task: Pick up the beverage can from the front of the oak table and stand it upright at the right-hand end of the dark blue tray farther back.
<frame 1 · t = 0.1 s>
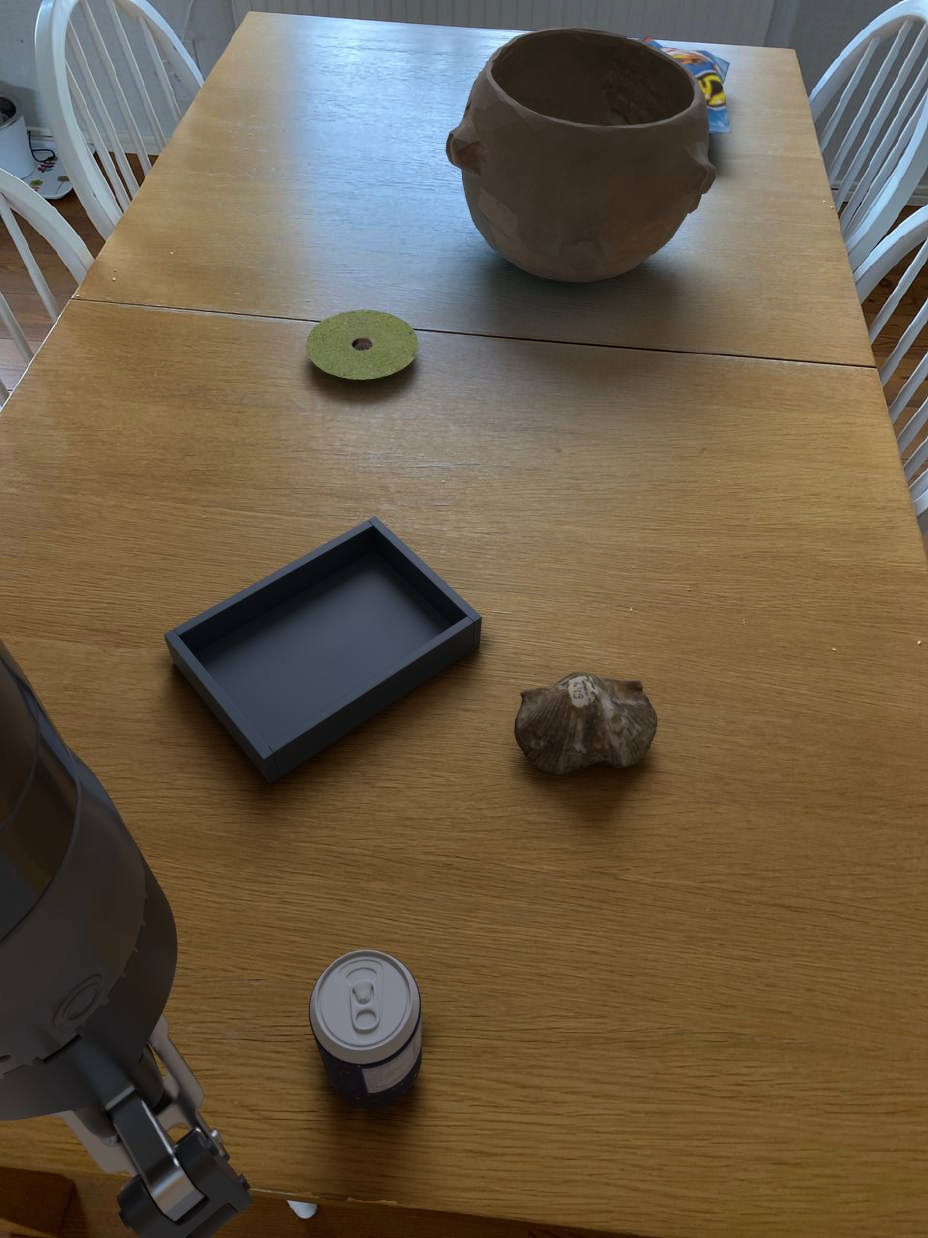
hand: (141, 1073, 36), 22 cm above the table, tool pointing down, fingers open, 8 cm apart
dark blue tray: (328, 653, 75), on the table
beverage can: (374, 1059, 57), on the table
fossilized seashell: (580, 740, 71), on the table
bowl: (568, 255, 111), on the table
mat: (363, 360, 98), on the table
packet: (661, 122, 131), on the table
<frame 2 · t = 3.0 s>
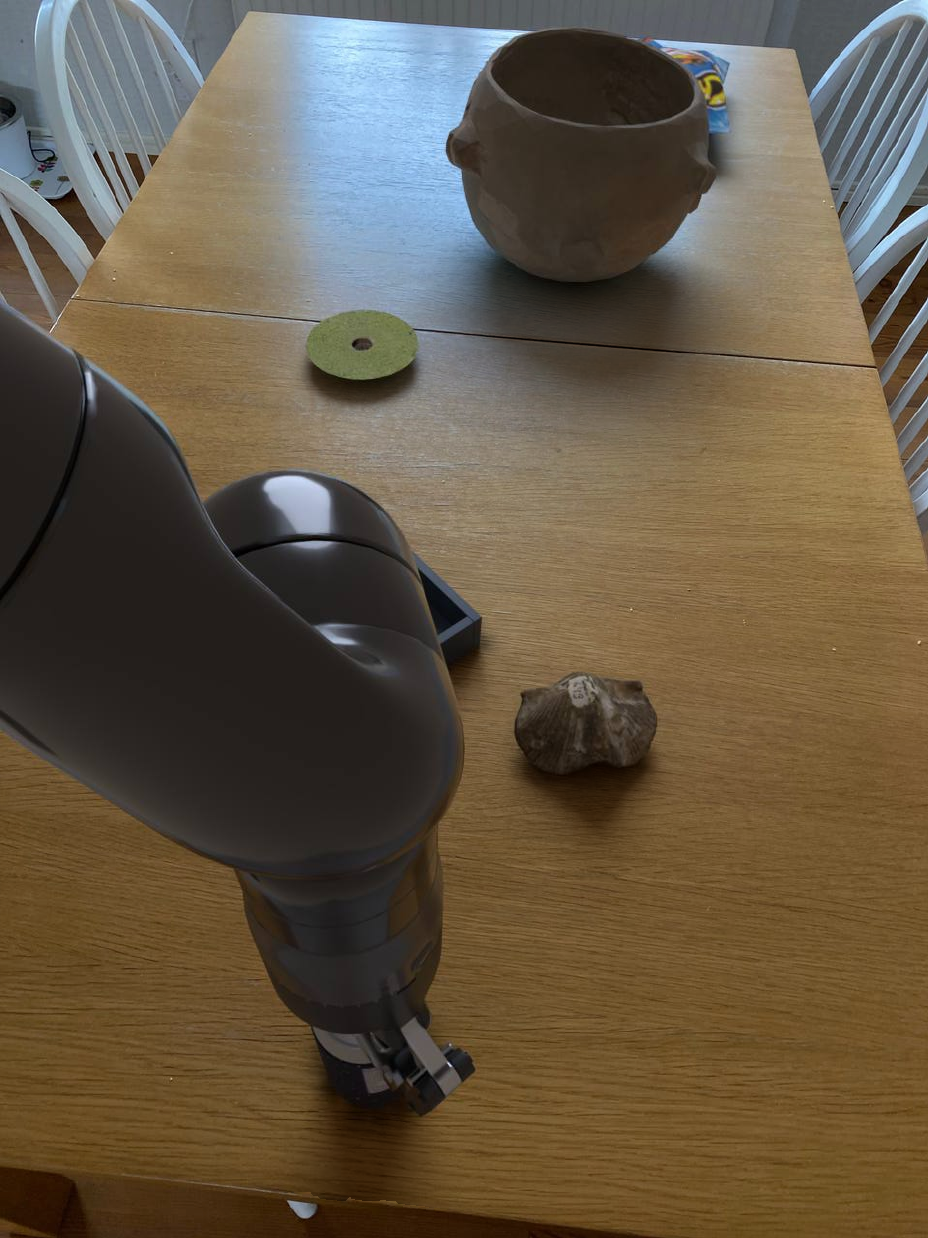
hand: (368, 1024, 51), 8 cm above the table, tool pointing down, fingers closed on beverage can, 5 cm apart
beverage can: (374, 1060, 57), on the table, touching gripper
everything else where it was.
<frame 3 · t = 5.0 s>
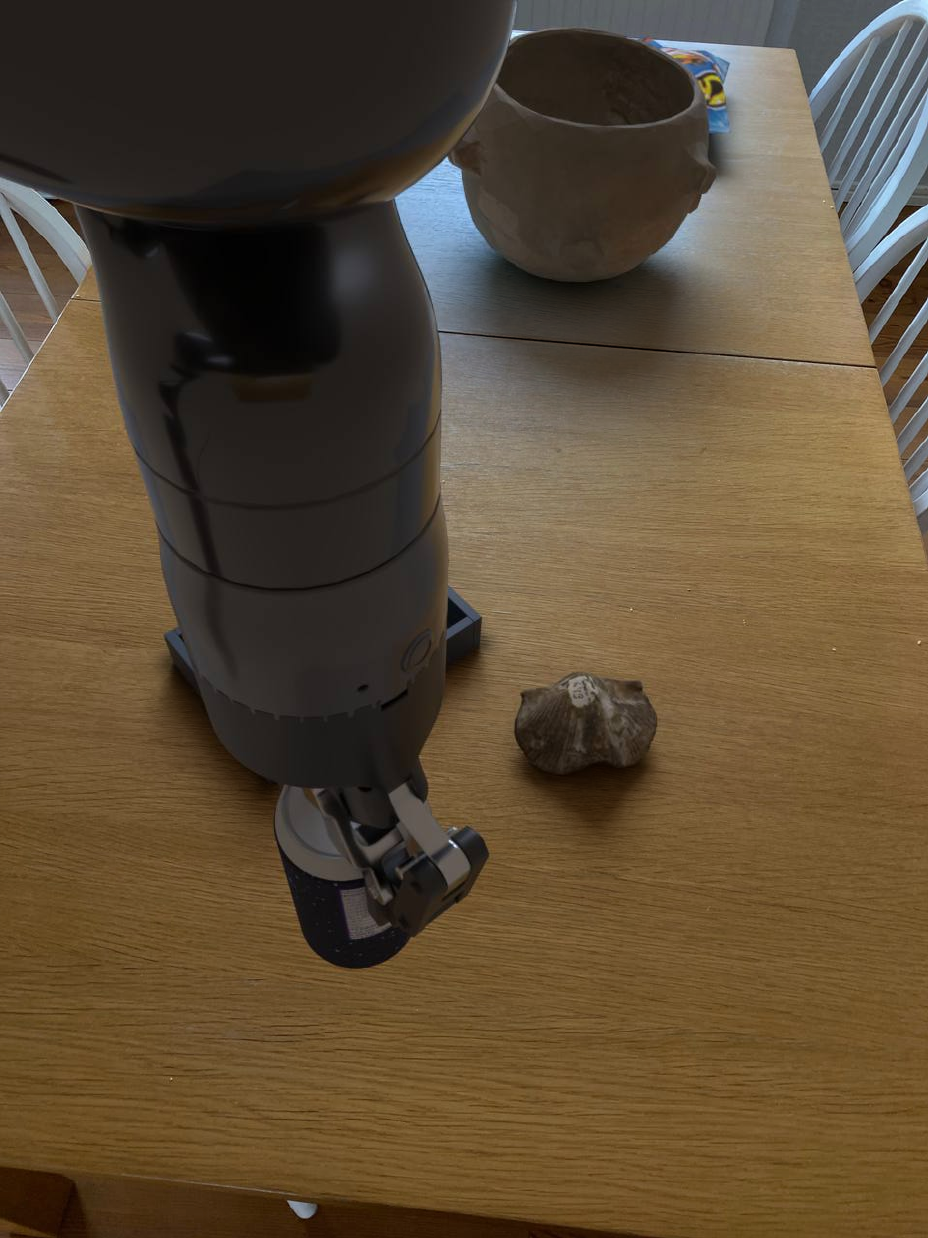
hand: (351, 849, 40), 23 cm above the table, tool pointing down, fingers closed on beverage can, 5 cm apart
beverage can: (360, 917, 46), point 16 cm above the table, touching gripper
everything else where it was.
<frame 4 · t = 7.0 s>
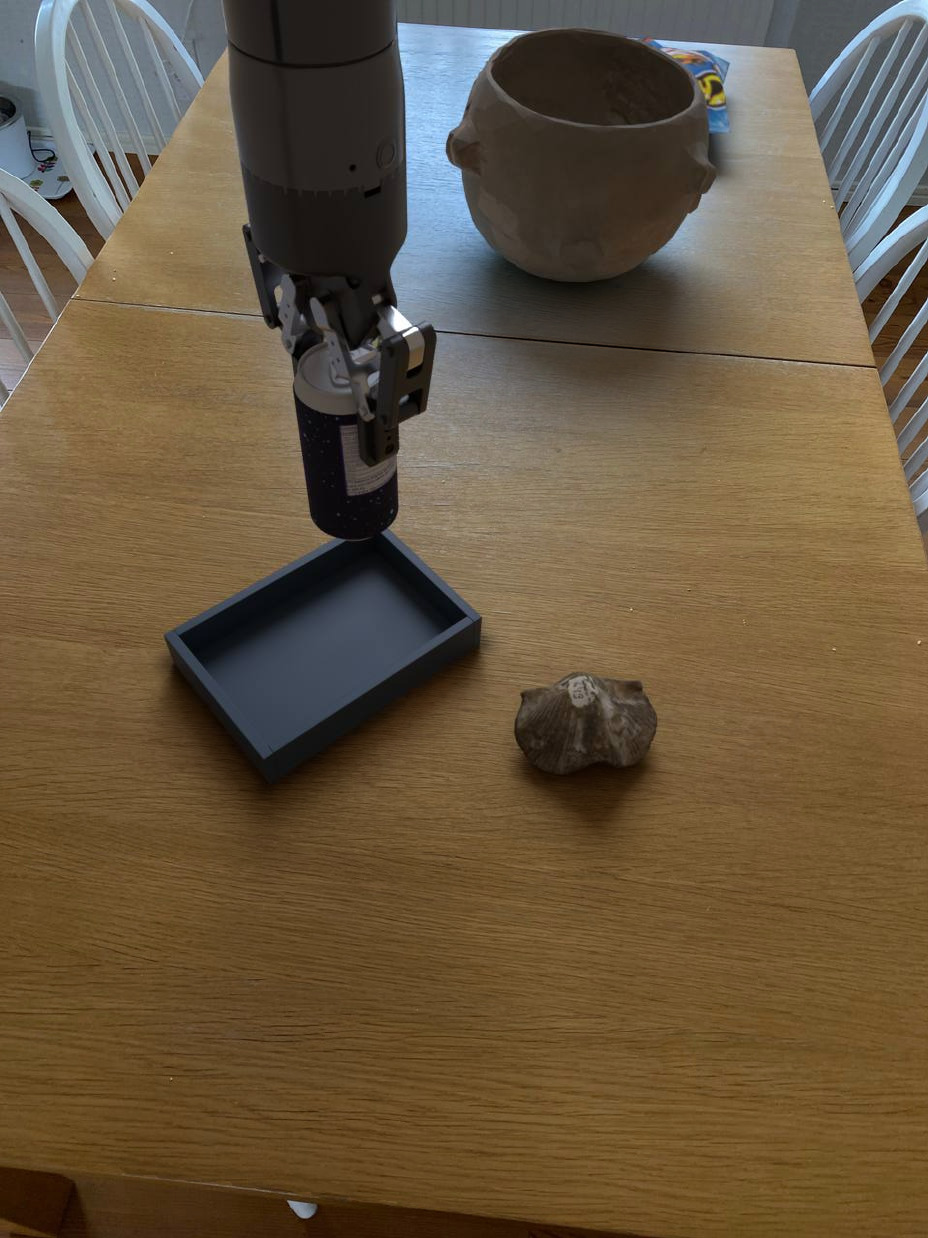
hand: (347, 428, 56), 23 cm above the table, tool pointing down, fingers closed on beverage can, 5 cm apart
beverage can: (355, 519, 62), point 16 cm above the table, touching gripper
everything else where it was.
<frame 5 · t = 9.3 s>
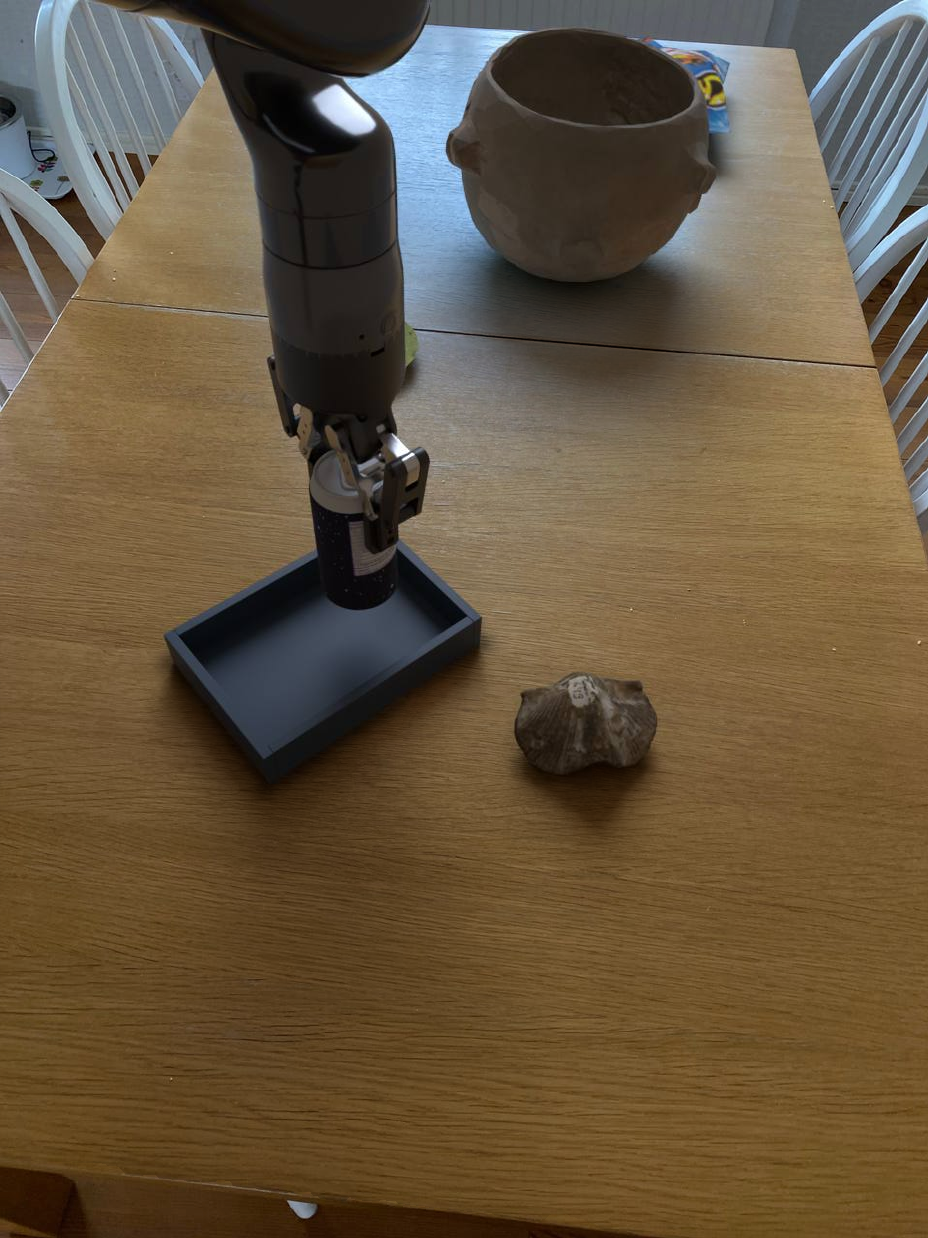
hand: (354, 519, 66), 13 cm above the table, tool pointing down, fingers closed on beverage can, 5 cm apart
beverage can: (360, 590, 72), point 5 cm above the table, touching gripper
everything else where it was.
when the fingers open (8 cm above the table, at t = 11.0 s): beverage can stays where it is, resting on dark blue tray.
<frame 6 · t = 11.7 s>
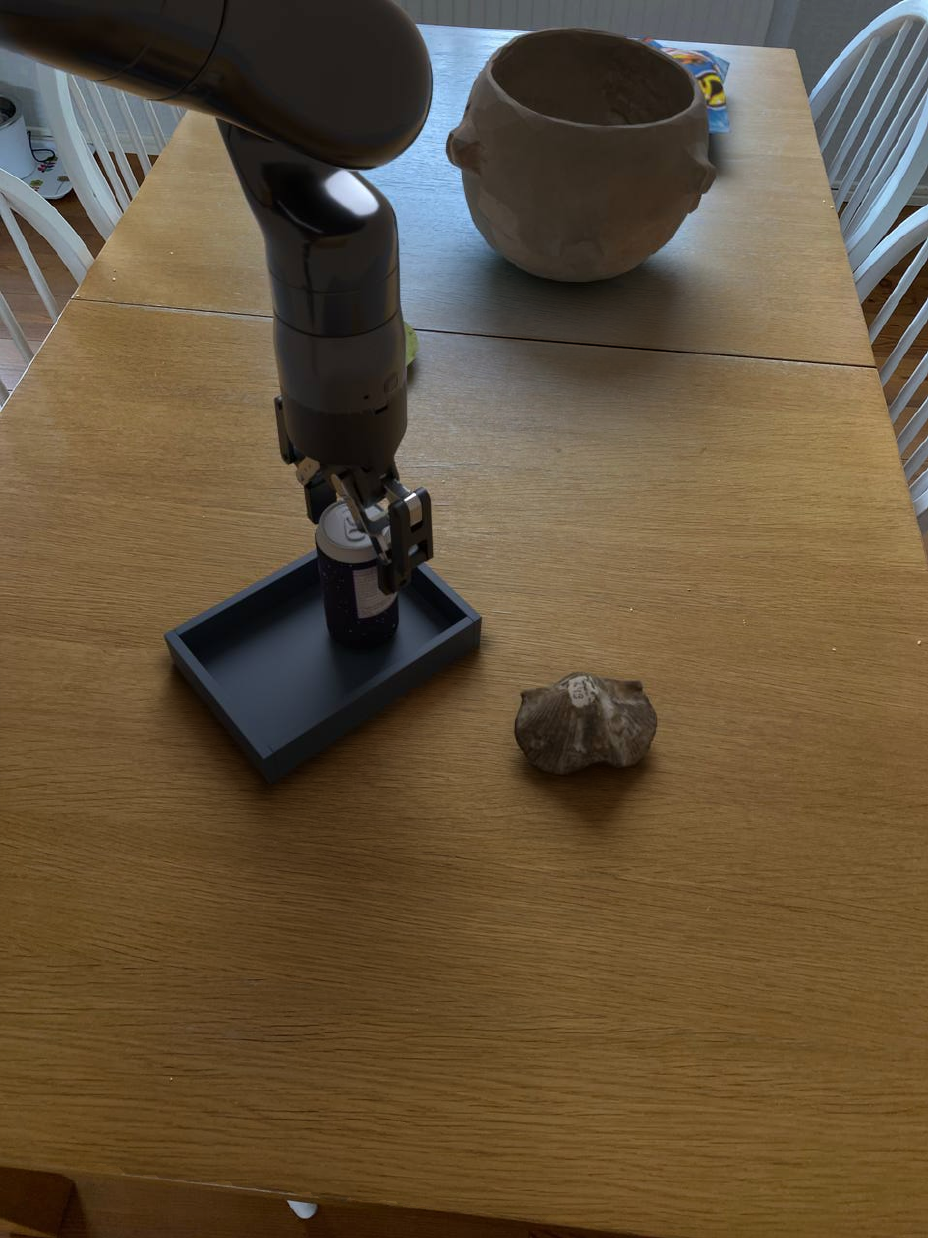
hand: (357, 551, 69), 9 cm above the table, tool pointing down, fingers open, 8 cm apart
beverage can: (363, 628, 76), resting on dark blue tray
everything else where it was.
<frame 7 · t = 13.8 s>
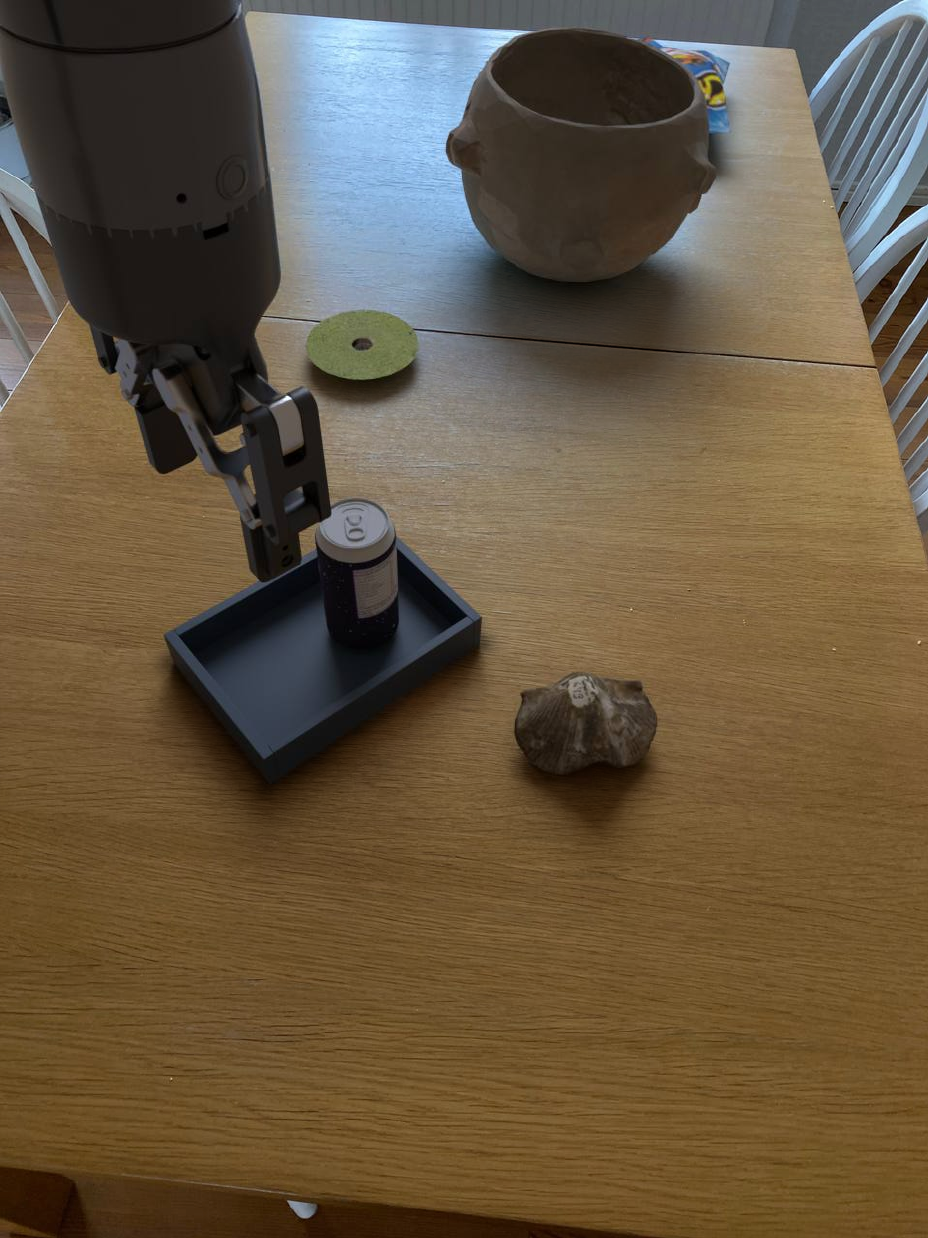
hand: (224, 514, 44), 29 cm above the table, tool pointing down, fingers open, 8 cm apart
nothing on the table moved.
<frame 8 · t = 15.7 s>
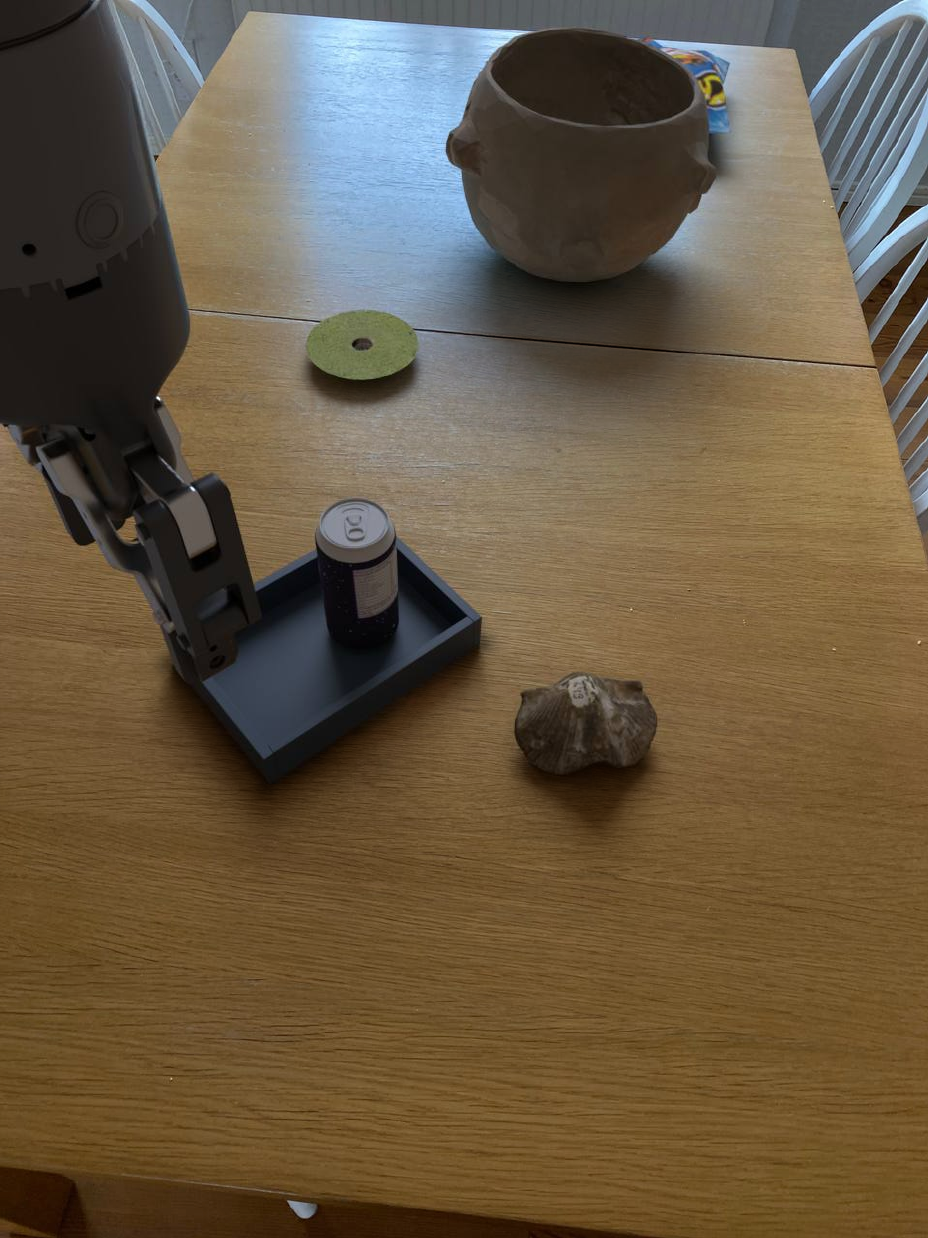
hand: (152, 596, 37), 32 cm above the table, tool pointing down, fingers open, 8 cm apart
nothing on the table moved.
at the end: beverage can inside the target area in the dark blue tray (0.9 cm from its centre), point 0.4 cm above the dark blue tray's base; beverage can tilted 0°; the gripper is holding nothing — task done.
